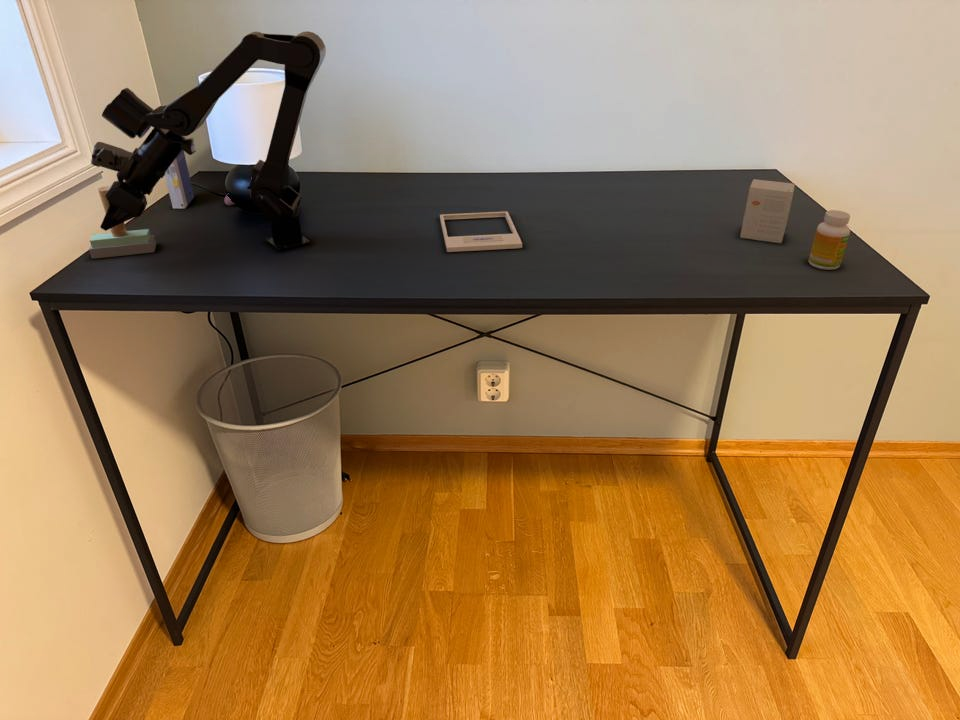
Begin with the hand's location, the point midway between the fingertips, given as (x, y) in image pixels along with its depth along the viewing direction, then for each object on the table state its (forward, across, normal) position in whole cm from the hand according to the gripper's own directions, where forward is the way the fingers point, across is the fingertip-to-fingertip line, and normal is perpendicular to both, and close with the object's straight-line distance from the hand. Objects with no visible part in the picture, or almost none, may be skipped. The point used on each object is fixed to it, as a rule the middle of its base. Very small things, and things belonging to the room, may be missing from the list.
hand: (107, 220), depth 129 cm
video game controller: (-12, -24, +22) cm, 35 cm away
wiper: (+4, 0, +6) cm, 7 cm away
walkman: (-2, -27, +12) cm, 29 cm away
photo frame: (-45, +10, +54) cm, 71 cm away
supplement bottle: (-84, +43, +94) cm, 134 cm away
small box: (-83, +28, +92) cm, 127 cm away
